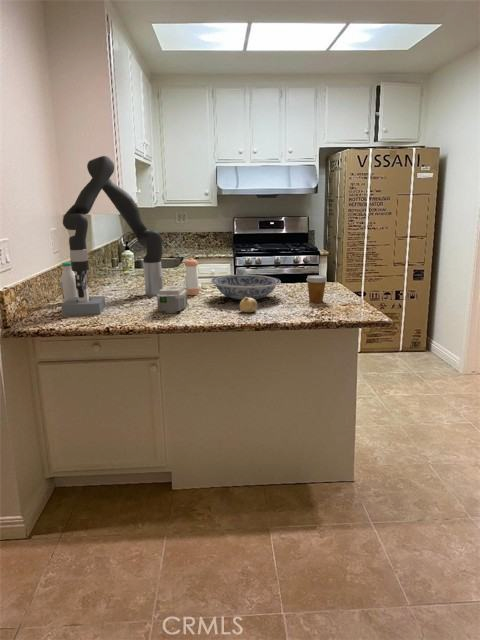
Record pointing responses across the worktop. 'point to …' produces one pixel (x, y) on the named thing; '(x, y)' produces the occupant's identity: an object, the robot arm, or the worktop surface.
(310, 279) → the disposable coffee cup
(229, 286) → the ceramic bowl
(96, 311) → the socket block
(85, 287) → the plug
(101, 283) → the worktop surface
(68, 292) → the milk bottle
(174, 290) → the grey box
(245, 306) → the onion
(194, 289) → the pepper shaker
